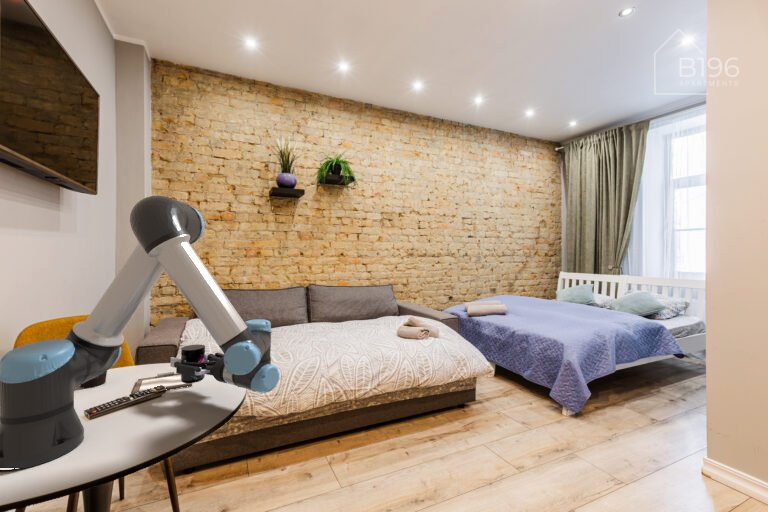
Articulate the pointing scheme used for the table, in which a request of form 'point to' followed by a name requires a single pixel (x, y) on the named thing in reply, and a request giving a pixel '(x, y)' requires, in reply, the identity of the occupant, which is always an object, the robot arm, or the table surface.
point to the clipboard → (161, 382)
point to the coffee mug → (95, 381)
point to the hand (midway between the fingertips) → (183, 358)
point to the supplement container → (193, 360)
